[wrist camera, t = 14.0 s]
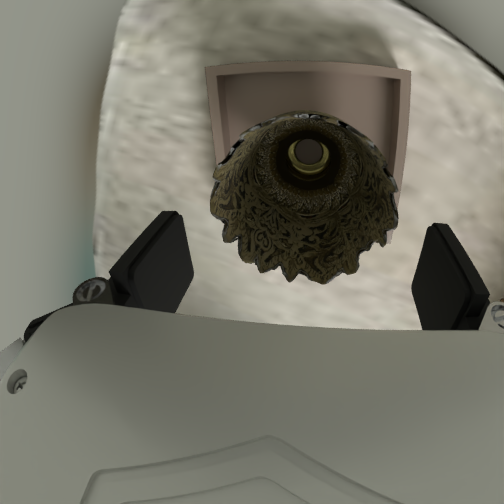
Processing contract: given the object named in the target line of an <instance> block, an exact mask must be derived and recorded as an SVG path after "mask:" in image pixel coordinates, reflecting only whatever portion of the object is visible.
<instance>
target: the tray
mask: <svg viewBox="0 0 504 504" xmlns="http://www.w3.org/2000/svg"><path fill="white" fill-rule="evenodd" d="M205 72H206V82H207V91H208V99H209V108H210V117H211V125H212V133H213V141H214V149H215V157H216V165H218V164H219V163H220V162H222V161H223V160H224V159H225V158H226V156H227V154H228V153H229V151H230V149H231V147H232V146H233V145H234V144H235V143H236V142H237V141H238V140H239V139H240V137H239V135H240V134H241V133H242V132H244V131H245V130H247V129H249V128H251V127H253V126H255V125H257V124H259V123H261V122H263V121H266V120H268V119H270V118H272V117H275V116H277V115H280V114H283V113H287V112H291V111H298V110H312V111H319V112H323V113H327V114H329V115H332V116H335V117H337V118H339V119H341V120H343V121H344V122H346V123H347V124H349V125H350V126H352V127H353V128H355V129H357V130H358V131H360V132H361V133H363V134H364V135H365V136H367V137H368V138H369V139H370V140H371V141H372V142H373V144H374V145H376V147H377V148H378V149H379V151H380V152H381V153H382V154H383V156H384V157H385V159H386V162H387V164H388V167H387V169H388V171H389V172H390V174H391V175H392V176H393V177H394V179H395V181H396V184H397V187H398V191H399V192H397V193H394V199H395V203H396V207H397V208H398V203H399V197H400V191H401V184H402V178H403V171H404V163H405V155H406V146H407V136H408V125H409V111H410V91H411V71H409V70H404V69H397V68H391V67H383V66H376V65H367V64H356V63H344V62H326V61H268V62H250V63H237V64H227V65H218V66H210V67H205ZM296 156H297V158H298V159H299V160H300V161H301V162H303V163H305V164H313V163H316V162H317V161H318V160H319V159H320V158H321V156H322V149H321V146H320V145H319V144H318V143H317V142H316V141H314V140H311V139H306V140H302V141H301V142H299V143H298V145H297V147H296ZM392 234H393V230H391V231H387V243H386V244H390V243H391V239H392ZM374 243H376V242H374Z"/></svg>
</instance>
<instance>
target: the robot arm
mask: <svg viewBox="0 0 504 504" xmlns="http://www.w3.org/2000/svg"><path fill="white" fill-rule="evenodd" d="M109 273H110V276H111V277H110V279H109V280H107V279H105V278H102V277H95V278H91V279H88V280H86V281H84V282H83V283H81V284H80V285H79V286H78V287H77V288H76V289H75V291H74V293H73V303H71V304H69V305H67V306H64V307H62V308H60V309H58V310H55V311H53V312H51V313H49V314H46V315H44V316H42V317H39V318H37V319H35V320H33V321H32V322H31V323H30V324H29V326H28V327H27V329H26V330H25V333H24V340H22V339H21V338H19V339H17V340H16V341H14V342H13V343H12V344H10V345H9V346H8V347H7V348H5V349H4V350H2V351H1V352H0V504H504V303H503V302H498V301H497V302H492V303H491V304H490V301H489V299H488V298H489V295H490V293H489V291H488V289H487V288H486V286H485V284H484V282H483V280H482V278H481V277H480V275H479V273H478V271H477V270H476V268H475V266H474V265H473V263H472V261H471V260H470V258H469V256H468V255H467V253H466V251H465V250H464V248H463V247H462V245H461V243H460V242H459V240H458V239H457V237H456V236H455V234H454V233H453V231H452V230H451V228H450V227H449V225H448V224H442V223H433V224H432V226H429V227H428V228H427V231H426V235H425V239H424V243H423V247H422V251H421V255H420V258H419V262H418V265H417V269H416V272H415V275H414V278H413V282H412V288H411V289H412V295H413V298H414V301H415V305H416V308H417V311H418V315H419V319H420V322H421V326H422V330H369V329H342V328H323V327H306V326H292V325H278V324H266V323H255V322H244V321H234V320H225V319H216V318H207V317H199V316H191V315H183V314H175V312H176V310H177V308H178V306H179V304H180V302H181V300H182V298H183V296H184V295H185V293H186V291H187V289H188V287H189V285H190V283H191V281H192V279H193V276H194V270H193V265H192V261H191V256H190V251H189V247H188V242H187V237H186V232H185V227H184V222H183V217H182V215H179V214H178V212H177V211H162V212H161V213H160V214H159V215H158V216H157V217H156V218H155V219H154V220H153V221H152V223H151V224H150V225H149V226H148V227H147V228H146V229H145V230H144V231H143V232H142V234H141V235H140V236H139V237H138V238H137V239H136V240H135V241H134V243H133V244H132V245H131V246H130V247H129V248H128V249H127V251H126V252H125V253H124V254H123V255H122V256H121V258H120V259H119V260H118V261H117V262H116V263H115V265H114V266H113V267H112V268H111V269H110V271H109Z"/></svg>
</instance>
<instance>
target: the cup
mask: <svg viewBox="0 0 504 504" xmlns="http://www.w3.org/2000/svg"><path fill="white" fill-rule="evenodd" d="M239 137H240V139H239V140H238V141H237V142H236V143H235V144H234V145H233V146H232V147H231V149H230V151H229V153H228V154H227V156H226V158H225V159H224V160H223V161H222V162H220V163H219V164H218V165H217V167H216V169H215V171H214V174H213V180H215V181H216V182H215V185H214V188H213V190H212V193H211V199H210V211H211V214H212V215H213V216H214V217H215V218H217V219H219V220H221V221H222V222H223V223H224V224H225V225H224V229H223V234H222V237H223V241H224V242H225V243H231V242H234V241H235V240H237V239H238V254H239V256H240V258H241V259H242V261H244V262H245V263H250V264H252V263H255V265H257V267H258V270H259V272H260V273H265V272H268V271H270V270H275V269H276V268H278V266H281V269H282V272H283V273H282V274H283V275H284V276H285V278H286V279H287V281H288V282H292V281H293V280H294V279H295V278H296V276H297V275H298V274H302V275H305V276H306V277H307V278H308V279H309V280H311V281H314V282H317V283H320V284H327V283H329V282H330V281H332V280H333V279H334V278H335V277H336V276H339V275H340V274H341V273H342V272H343V273H346V274H347V275H350V274H353V273H356V272H357V270H358V268H359V256H360V254H361V253H363V252H364V251H369V250H370V248H371V247H372V245H373V244H374V242H376V243H380V246H381V247H384V246H385V245H386V243H387V231H391V230H395V229H396V228H397V225H398V211H397V207H396V203H395V199H394V193H397V192H399V191H398V187H397V184H396V181H395V179H394V177H393V176H392V175H391V174H390V172H389V171H388V169H387V167H388V164H387V162H386V159H385V157H384V156H383V154H382V153H381V152H380V151H379V149H378V148H377V147H376V145H374V144H373V142H372V141H371V140H370V139H369V138H368V137H367V136H365V135H364V134H363V133H361V132H360V131H358V130H357V129H355V128H353V127H352V126H350V125H349V124H347V123H346V122H344V121H343V120H341V119H339V118H337V117H335V116H332V115H329V114H327V113H323V112H319V111H312V110H298V111H291V112H287V113H283V114H280V115H277V116H275V117H272V118H270V119H268V120H266V121H263V122H261V123H259V124H257V125H255V126H253V127H251V128H249V129H247V130H245V131H244V132H242V133H241V134H240V135H239ZM306 139H311V140H314V141H316V142H317V143H318V144H319V145H320V146H321V149H322V156H321V158H320V159H319V160H318V161H317V162H316V163H313V164H305V163H303V162H301V161H300V160H299V159H298V158H297V156H296V147H297V145H298V143H299V142H301V141H302V140H306ZM236 237H238V238H236ZM235 238H236V239H235Z"/></svg>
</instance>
